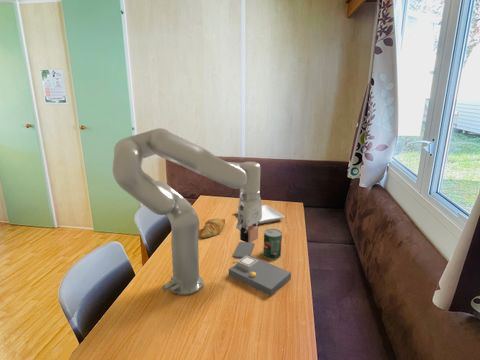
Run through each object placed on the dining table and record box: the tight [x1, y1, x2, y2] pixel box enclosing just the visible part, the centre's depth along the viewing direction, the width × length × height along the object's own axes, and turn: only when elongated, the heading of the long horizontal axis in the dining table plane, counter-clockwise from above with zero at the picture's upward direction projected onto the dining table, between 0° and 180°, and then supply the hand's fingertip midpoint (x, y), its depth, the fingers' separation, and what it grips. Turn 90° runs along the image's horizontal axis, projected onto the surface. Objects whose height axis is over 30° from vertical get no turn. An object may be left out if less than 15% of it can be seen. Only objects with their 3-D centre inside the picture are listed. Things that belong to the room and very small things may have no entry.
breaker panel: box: [228, 254, 292, 297], centre depth 122 cm, size 14×20×5 cm
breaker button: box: [241, 257, 255, 266], centre depth 125 cm, size 4×4×2 cm
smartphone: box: [232, 241, 256, 259], centre depth 143 cm, size 8×1×15 cm
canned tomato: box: [263, 228, 283, 260], centre depth 138 cm, size 8×8×11 cm
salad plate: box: [236, 204, 285, 225], centre depth 180 cm, size 21×21×3 cm
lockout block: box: [239, 225, 259, 243], centre depth 122 cm, size 5×5×5 cm
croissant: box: [200, 218, 226, 239], centre depth 161 cm, size 21×10×8 cm, turn 153°
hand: (248, 238), depth 122 cm, fingers closed on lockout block, 4 cm apart
